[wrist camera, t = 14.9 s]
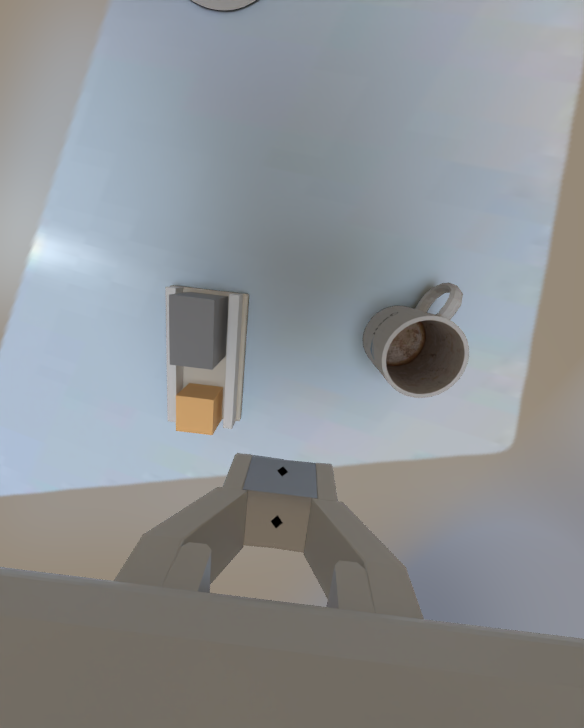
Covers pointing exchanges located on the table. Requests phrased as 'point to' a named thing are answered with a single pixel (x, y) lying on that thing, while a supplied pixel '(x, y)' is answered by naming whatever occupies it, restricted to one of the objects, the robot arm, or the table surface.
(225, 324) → the block
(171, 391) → the rail
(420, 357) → the mug
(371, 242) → the table surface
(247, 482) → the robot arm
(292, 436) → the table surface
